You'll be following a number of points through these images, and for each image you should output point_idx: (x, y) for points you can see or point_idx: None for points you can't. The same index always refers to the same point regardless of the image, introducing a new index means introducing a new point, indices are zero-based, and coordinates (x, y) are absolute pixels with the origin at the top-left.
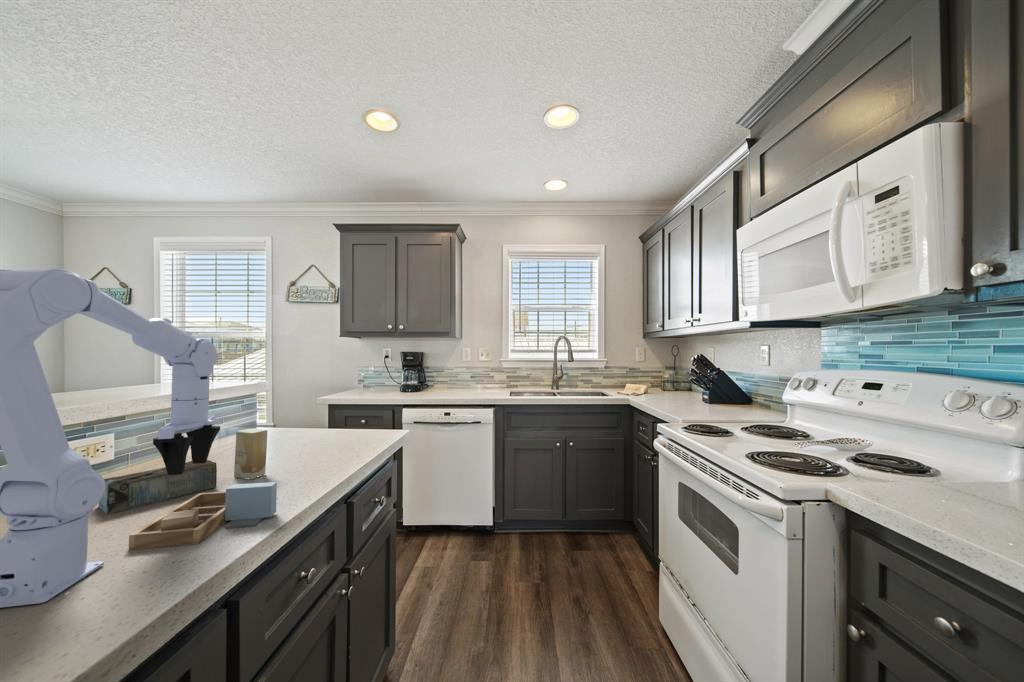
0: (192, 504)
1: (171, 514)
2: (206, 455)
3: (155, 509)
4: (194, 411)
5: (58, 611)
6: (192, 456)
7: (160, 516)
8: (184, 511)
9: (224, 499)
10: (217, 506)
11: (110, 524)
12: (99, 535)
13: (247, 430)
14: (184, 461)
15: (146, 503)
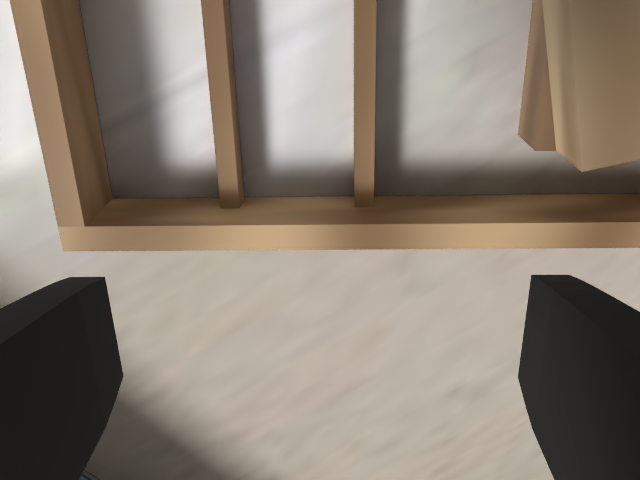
0: (192, 214)
1: (628, 137)
2: (58, 306)
3: (151, 397)
4: None
5: None
6: (95, 440)
7: (466, 248)
8: (596, 77)
9: (77, 65)
10: (214, 41)
11: (320, 465)
12: (443, 433)
13: None
14: (629, 326)
15: (82, 473)
